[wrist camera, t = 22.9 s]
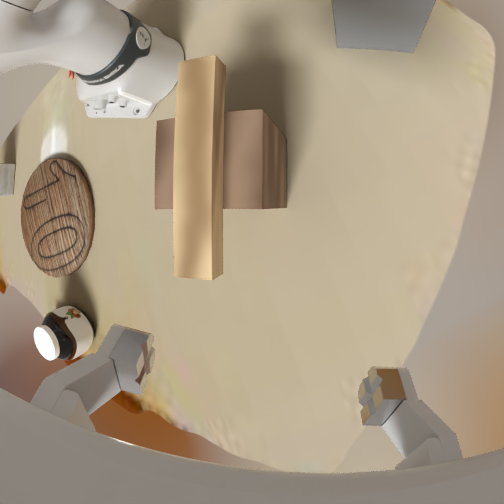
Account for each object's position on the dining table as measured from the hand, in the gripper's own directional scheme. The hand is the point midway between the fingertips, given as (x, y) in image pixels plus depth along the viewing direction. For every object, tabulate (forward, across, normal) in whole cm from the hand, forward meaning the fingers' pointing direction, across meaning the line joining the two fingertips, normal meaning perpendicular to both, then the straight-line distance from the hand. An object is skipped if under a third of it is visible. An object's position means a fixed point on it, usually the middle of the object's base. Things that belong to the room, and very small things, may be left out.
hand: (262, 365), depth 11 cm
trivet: (+43, +43, +20) cm, 64 cm away
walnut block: (+38, +4, +4) cm, 38 cm away
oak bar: (+24, +7, 0) cm, 25 cm away
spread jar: (+34, +35, +41) cm, 63 cm away
